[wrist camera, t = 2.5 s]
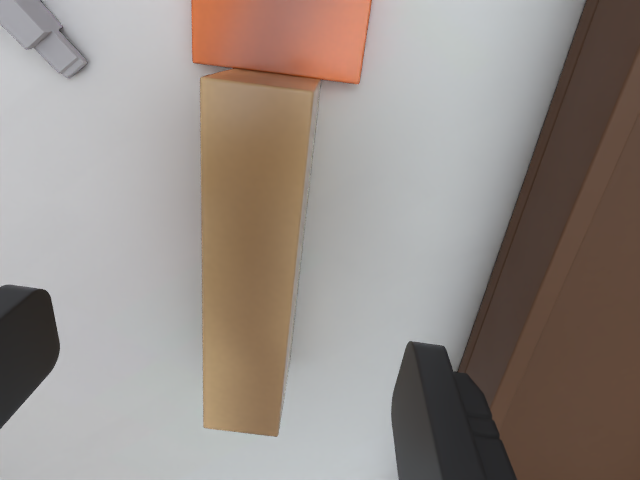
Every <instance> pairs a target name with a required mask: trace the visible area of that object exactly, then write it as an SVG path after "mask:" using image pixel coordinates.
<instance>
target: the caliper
mask: <svg viewBox="0 0 640 480" xmlns="http://www.w3.org/2000/svg"><path fill="white" fill-rule="evenodd" d="M0 24H1V25H2V26H3V27H4V28H5V29H6V30H7V31H8V32H9V33H10V34H11V35H12V36H13V37H14V38H15V39H16V40H17V41H18V42H19V43H20V44H21V45H22V46H23V47H24V48H25V49H32V48H35V49H36V50H37V51H38V52H39V53H40V54H41V56H42V57H43V58H44V59H45V60H46V61H47V62H48V63H49V64H50V65H51V66H52V67H53V68H54V69H55V70H56V71H57V72H58V73H61V74H63V75H64V76H65V77H66V78H71V77H72V76H73V75H74V74H75V73H76V72H78V71H79V70H80V69H81V68H82V67H83V66H85V65H86V64H87V62H86V60H85V58H84V57H83V56H82V55H81V54H80V53H79V51H78V50H77V49H76V48H75V47H74V46H73V45H72V44H71V43H70V42H69V41H68V40H67V39H66V38H65V37H64V35H63V34H62V33H61V32H60V31H59V30H60V29H61V28H62V27H63V26H62V25H61V23H60V22H59V21H58V20H57V19H56V18H55V16H54V15H53V14H52V13H51V12H50V11H49V10H48V9H47V8H46V7H45V6H44V4H43V3H42V2H41V1H40V0H0Z"/></svg>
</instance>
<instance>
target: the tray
mask: <svg viewBox="0 0 640 480" xmlns="http://www.w3.org/2000/svg"><path fill="white" fill-rule="evenodd" d="M458 372H460V373H467V374H468V375H469V376H470V378H471V379H472V380H473V381H474V382H475V384H476V385H477V386H478V387H479V388H480V390H481V391H482V392H483V393H484V395H485V398H486V400H487V403H488V406H489V408H490V411H491V413H492V420H494V421H495V424H496V426H497V429H498V431H499V434H500V440H502V442H503V444H504V447H505V449H506V452H507V455H508V457H509V460H510V462H511V465H512V467H513V470H514V473H515V475H516V478H517V480H640V0H587V1H586V4H585V7H584V10H583V13H582V16H581V19H580V22H579V24H578V27H577V30H576V33H575V36H574V39H573V42H572V45H571V47H570V50H569V53H568V56H567V59H566V62H565V65H564V68H563V70H562V73H561V76H560V79H559V82H558V85H557V88H556V91H555V93H554V96H553V99H552V102H551V105H550V108H549V111H548V114H547V116H546V119H545V122H544V125H543V128H542V131H541V134H540V137H539V139H538V142H537V145H536V148H535V151H534V154H533V157H532V160H531V162H530V165H529V168H528V171H527V174H526V177H525V180H524V183H523V185H522V188H521V191H520V194H519V197H518V200H517V203H516V206H515V209H514V211H513V214H512V217H511V220H510V223H509V226H508V229H507V232H506V234H505V237H504V240H503V243H502V246H501V249H500V252H499V255H498V257H497V260H496V263H495V266H494V269H493V272H492V275H491V278H490V280H489V283H488V286H487V289H486V292H485V295H484V298H483V301H482V303H481V306H480V309H479V312H478V315H477V318H476V321H475V324H474V326H473V329H472V332H471V335H470V338H469V341H468V344H467V347H466V349H465V352H464V355H463V358H462V361H461V364H460V367H459V370H458Z"/></svg>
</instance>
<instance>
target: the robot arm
mask: <svg viewBox="0 0 640 480" xmlns="http://www.w3.org/2000/svg"><path fill="white" fill-rule="evenodd" d="M59 351H60V343H59V337H58V332H57V327H56V322H55V317H54V312H53V306H52V301H51V297H50V295H49V293H48V292H47V291H46V290H43V289H37V288H30V287H23V286H15V285H4V286H1V287H0V429H1V428H2V426H3V425H4V424H5V423H6V422H7V421H8V420H9V419H10V417H11V416H12V415H13V414H14V413H15V412H16V411H17V410H18V408H19V407H20V406H21V405H22V404H23V403H24V402H25V400H26V399H27V398H28V397H29V396H30V395H31V394H32V393H33V391H34V390H35V389H36V388H37V387H38V386H39V385H40V384H41V382H42V381H43V380H44V379H45V378H46V377H47V376H48V374H49V373H50V372H51V371H52V369H53V368H54V366H55V364H56V362H57V359H58V356H59ZM391 417H392V428H393V436H394V444H395V453H396V461H397V469H398V478H399V480H517V478H516V475H515V473H514V470H513V467H512V465H511V462H510V460H509V457H508V455H507V452H506V449H505V447H504V444H503V442H502V440H500V434H499V431H498V429H497V426H496V424H495V421H494V420H492V413H491V411H490V408H489V406H488V403H487V400H486V398H485V395H484V393H483V392H482V391H481V390H480V388H479V387H478V386H477V385H476V384H475V382H474V381H473V380H472V379H471V378H470V376H469V375H468V374H467V373H460V372H453V369H452V366H451V363H450V360H449V357H448V354H447V351H446V349H445V347H444V346H440V345H433V344H426V343H419V342H412V341H410V342H409V343H408V344H407V346H406V349H405V353H404V356H403V360H402V363H401V367H400V370H399V374H398V377H397V381H396V384H395V388H394V392H393V397H392V408H391Z"/></svg>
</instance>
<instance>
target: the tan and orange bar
mask: <svg viewBox="0 0 640 480" xmlns="http://www.w3.org/2000/svg"><path fill="white" fill-rule="evenodd" d="M371 3H372V0H191V4H192V61H193V63H197V64H205V65H213V66H220V67H228V68H233V69H230V70H226V71H222V72H218V73H214V74H211V75H207V76H203V77H201V78H200V134H201V233H202V331H203V426H204V428H208V429H216V430H225V431H233V432H241V433H250V434H258V435H266V436H274V437H277V436H278V434H279V428H280V421H281V415H282V409H283V403H284V396H285V390H286V384H287V377H288V371H289V365H290V356H291V347H292V338H293V329H294V320H295V311H296V302H297V293H298V284H299V275H300V266H301V257H302V248H303V239H304V230H305V221H306V212H307V203H308V194H309V185H310V175H311V166H312V157H313V148H314V139H315V130H316V121H317V112H318V103H319V94H320V85H321V80H329V81H336V82H344V83H352V84H359V83H360V77H361V70H362V63H363V56H364V50H365V43H366V36H367V30H368V23H369V16H370V10H371Z"/></svg>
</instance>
